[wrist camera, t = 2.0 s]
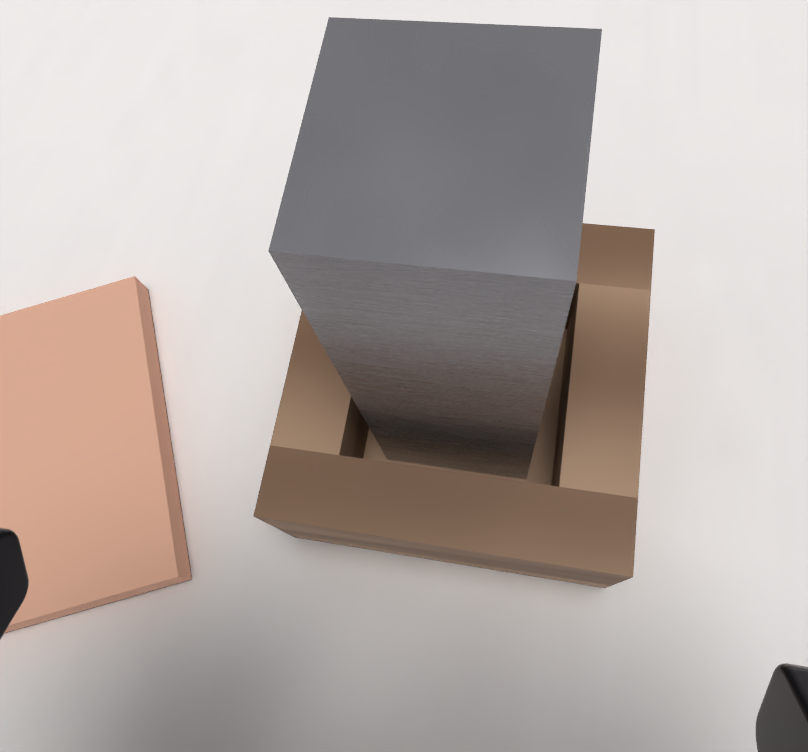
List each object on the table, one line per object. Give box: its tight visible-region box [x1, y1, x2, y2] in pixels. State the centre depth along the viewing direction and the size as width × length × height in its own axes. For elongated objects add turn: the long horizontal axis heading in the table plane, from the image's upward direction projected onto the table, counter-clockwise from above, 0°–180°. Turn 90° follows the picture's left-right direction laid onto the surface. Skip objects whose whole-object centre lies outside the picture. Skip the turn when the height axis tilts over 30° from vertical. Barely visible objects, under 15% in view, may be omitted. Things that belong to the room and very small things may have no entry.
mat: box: [0, 276, 192, 633], centre depth 22 cm, size 10×10×1 cm
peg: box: [269, 17, 602, 479], centre depth 15 cm, size 4×4×12 cm
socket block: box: [254, 223, 655, 588], centre depth 20 cm, size 9×9×4 cm
